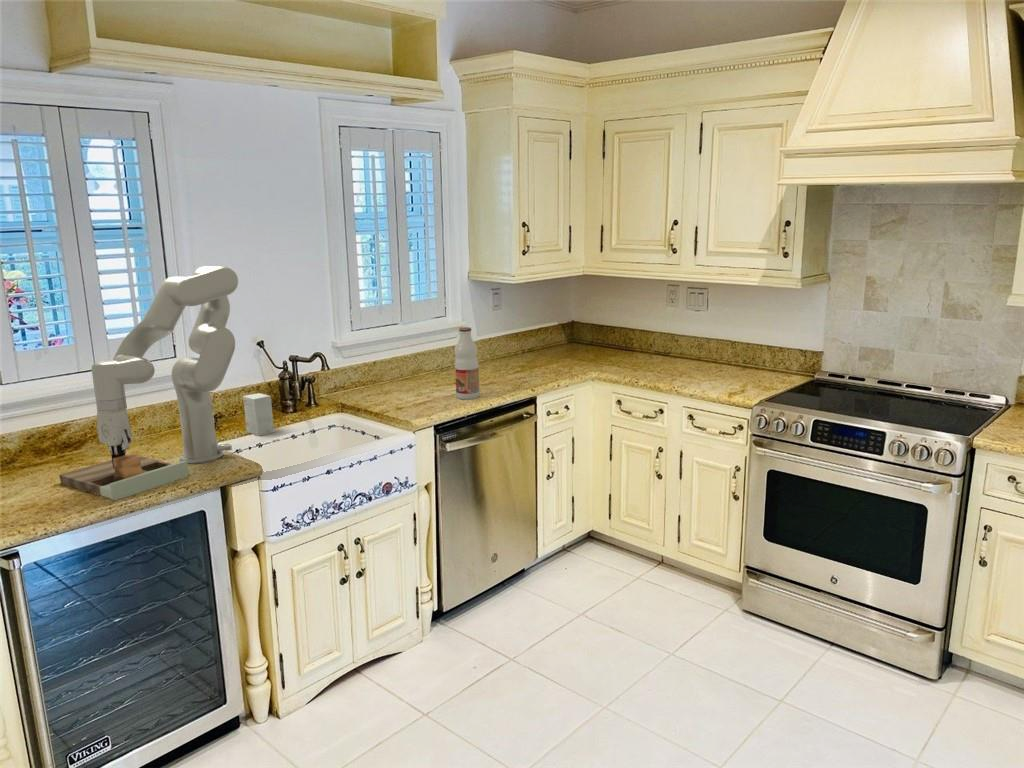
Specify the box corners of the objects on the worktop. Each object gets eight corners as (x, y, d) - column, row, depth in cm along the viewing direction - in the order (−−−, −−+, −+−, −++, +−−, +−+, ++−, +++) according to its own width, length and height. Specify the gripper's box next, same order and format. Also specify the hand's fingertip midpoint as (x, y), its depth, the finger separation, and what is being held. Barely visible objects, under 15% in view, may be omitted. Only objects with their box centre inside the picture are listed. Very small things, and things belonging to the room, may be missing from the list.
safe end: (100, 495, 208) (98, 480, 207) (174, 472, 226) (172, 457, 225) (115, 500, 204) (112, 484, 203) (188, 476, 222) (187, 461, 221)
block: (115, 475, 217) (112, 458, 216) (132, 470, 221) (130, 453, 220) (125, 478, 214) (122, 461, 213) (142, 473, 218) (139, 456, 217)
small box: (274, 432, 266) (271, 395, 263) (258, 436, 261) (254, 399, 259) (262, 428, 271) (259, 392, 268) (246, 432, 267) (242, 395, 264)
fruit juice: (479, 399, 304) (476, 329, 298) (455, 400, 304) (452, 330, 298) (480, 394, 313) (477, 326, 307) (456, 394, 313) (453, 326, 307)
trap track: (60, 483, 219) (59, 474, 219) (133, 461, 237) (132, 454, 237) (100, 495, 208) (99, 487, 207) (174, 472, 226) (173, 464, 225)
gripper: (84, 404, 217) (93, 466, 221) (112, 410, 209) (121, 474, 213) (110, 399, 223) (118, 459, 227) (139, 404, 215) (147, 467, 219)
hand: (120, 466), depth 220 cm, fingers closed
